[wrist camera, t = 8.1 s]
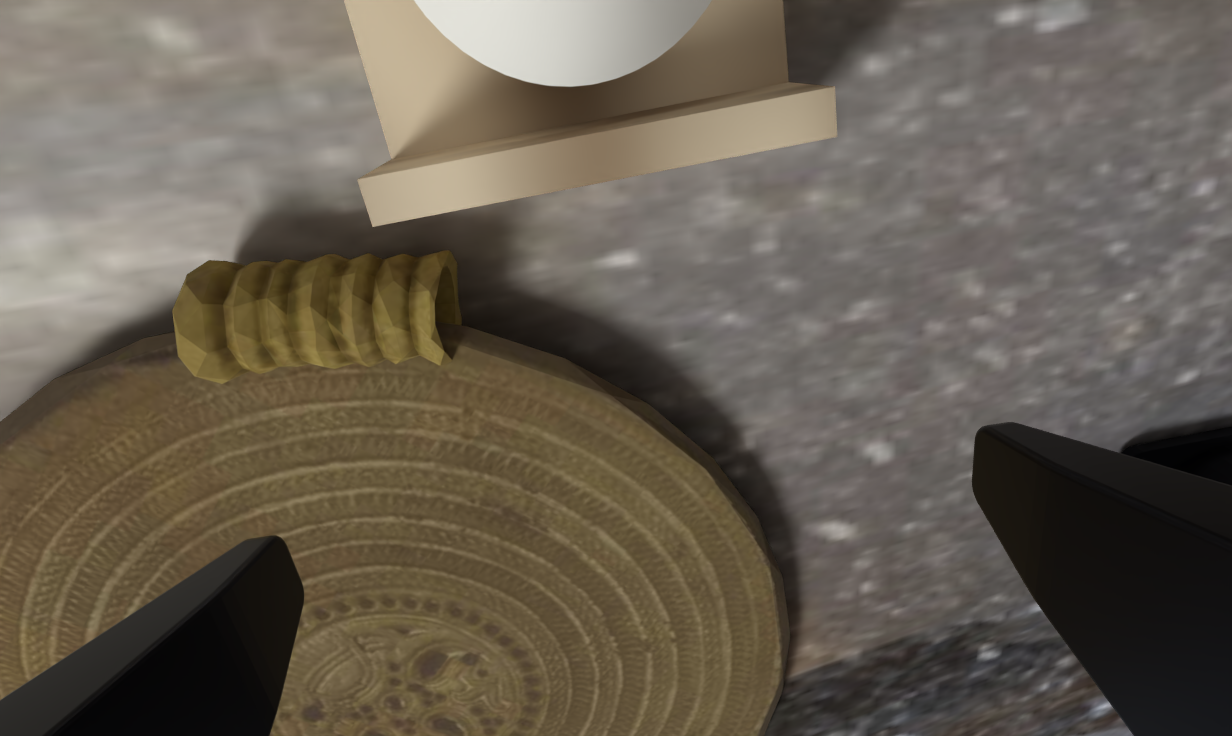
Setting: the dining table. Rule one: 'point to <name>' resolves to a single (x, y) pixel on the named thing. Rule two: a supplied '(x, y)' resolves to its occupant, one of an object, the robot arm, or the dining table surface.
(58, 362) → the dining table surface
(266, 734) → the robot arm
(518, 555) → the decorative disc
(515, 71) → the white rounded cylinder
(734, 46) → the dish rack
